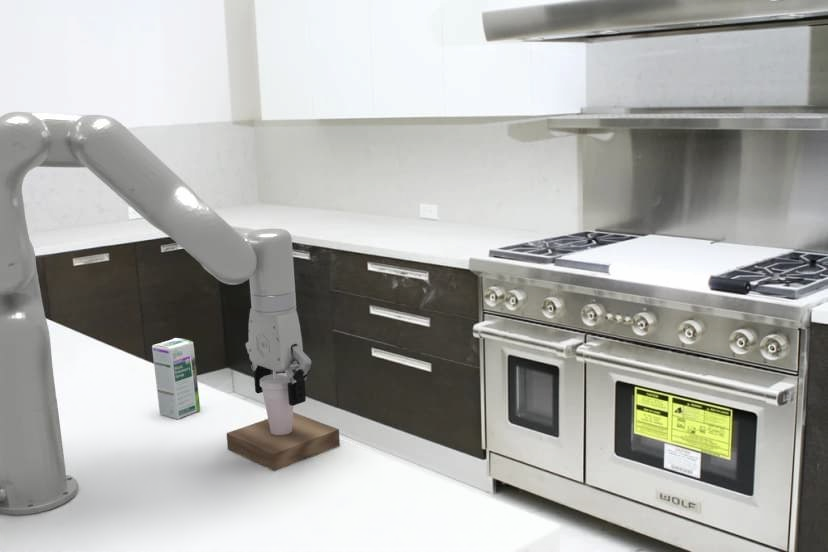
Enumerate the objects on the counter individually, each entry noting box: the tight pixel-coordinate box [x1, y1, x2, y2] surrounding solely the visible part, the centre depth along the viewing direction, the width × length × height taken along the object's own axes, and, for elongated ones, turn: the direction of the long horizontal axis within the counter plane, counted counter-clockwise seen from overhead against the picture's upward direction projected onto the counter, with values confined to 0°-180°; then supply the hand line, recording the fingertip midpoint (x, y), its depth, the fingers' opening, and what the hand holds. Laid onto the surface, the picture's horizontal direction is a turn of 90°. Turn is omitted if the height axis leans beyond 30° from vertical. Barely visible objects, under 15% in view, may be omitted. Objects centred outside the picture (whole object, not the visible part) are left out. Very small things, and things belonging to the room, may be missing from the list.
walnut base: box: [226, 411, 341, 472], centre depth 157 cm, size 14×14×3 cm
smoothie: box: [260, 370, 295, 435], centre depth 155 cm, size 6×6×14 cm
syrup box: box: [151, 337, 201, 420], centre depth 175 cm, size 6×6×14 cm
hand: (280, 397), depth 155 cm, fingers open, 9 cm apart
